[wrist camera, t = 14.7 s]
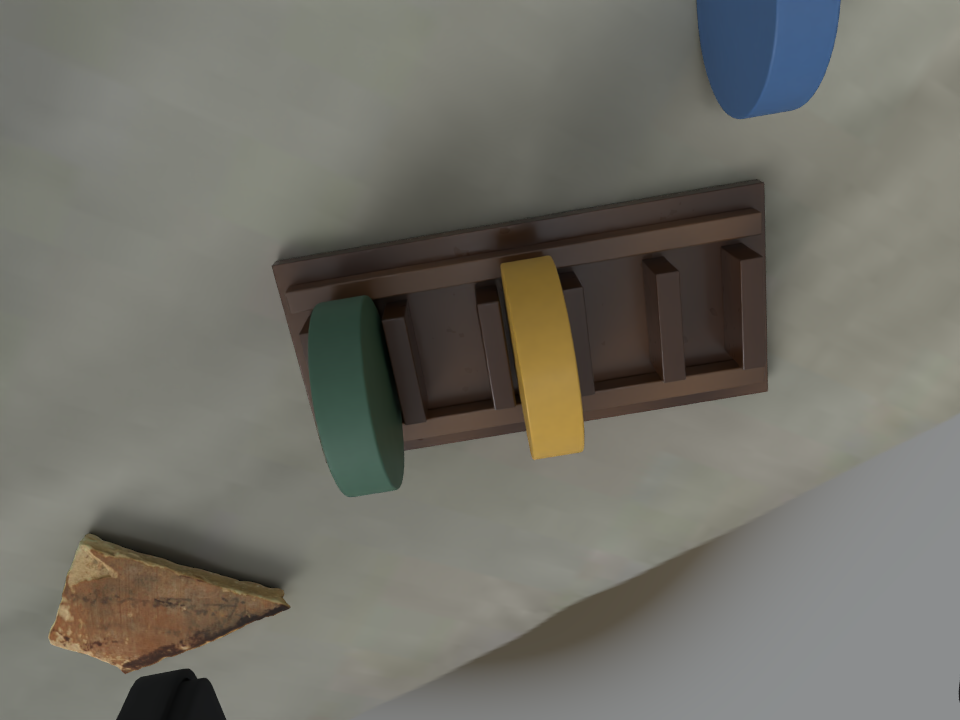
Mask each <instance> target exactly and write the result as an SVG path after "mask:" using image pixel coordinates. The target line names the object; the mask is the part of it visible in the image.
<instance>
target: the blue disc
mask: <svg viewBox="0 0 960 720" xmlns="http://www.w3.org/2000/svg"><path fill="white" fill-rule="evenodd" d="M840 1H841V0H697V16H698V28H699V37H700V44H701V50H702V55H703V60H704V65H705V68H706V72H707V76H708V79H709V82H710V85H711V88H712V90H713V93H714V95H715V97H716V99H717V101H718V103H719V104H720V106H721V107H722V109H723V110H724V111H725V112H726V113H727V114H728V115H730V116H731V117H733V118H736V119H745V118H751V117H756V116H762V115H768V114H774V113H780V112H786V111H791V110H795V109H797V108H800V107H801V106H803V105H804V104H805V103H807V102H808V101H809V99H810V98H811V97H812V96H813V95H814V93H815V92H816V90H817V89H818V87H819V85H820V83H821V81H822V79H823V77H824V75H825V72H826V69H827V67H828V64H829V61H830V58H831V54H832V51H833V47H834V42H835V38H836V33H837V27H838V20H839V13H840Z"/></svg>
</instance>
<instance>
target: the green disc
mask: <svg viewBox="0 0 960 720" xmlns="http://www.w3.org/2000/svg"><path fill="white" fill-rule="evenodd" d="M308 366H309V378H310V387H311V395H312V401H313V408H314V413H315V419H316V423H317V428H318V433H319V437H320V440H321V444H322V448H323V451H324V455H325V458H326V461H327V464H328V466H329V469H330V471H331V474H332V476H333V478H334V480H335V482H336V484H337V486H338V487H339V489H340V491H341V492H342V493H343V494H344V495H346V496H347V497H356V496H362V495H368V494H375V493H381V492H387V491H393V490H397V489H399V488H400V486H401V484H402V480H403V473H404V441H403V428H402V418H401V410H400V402H399V397H398V393H397V388H396V384H395V380H394V375H393V371H392V366H391V362H390V357H389V353H388V349H387V344H386V340H385V335H384V331H383V326H382V322H381V318H380V315H379V313H378V310H377V308H376V306H375V304H374V302H373V301H372V299H371V298H370V297H369V296H367V295H362V296H356V297H350V298H344V299H338V300H332V301H326V302H321V303H318V304H317V305H316V306H315V307H314V308H313V311H312V314H311V318H310V323H309V331H308Z"/></svg>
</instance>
